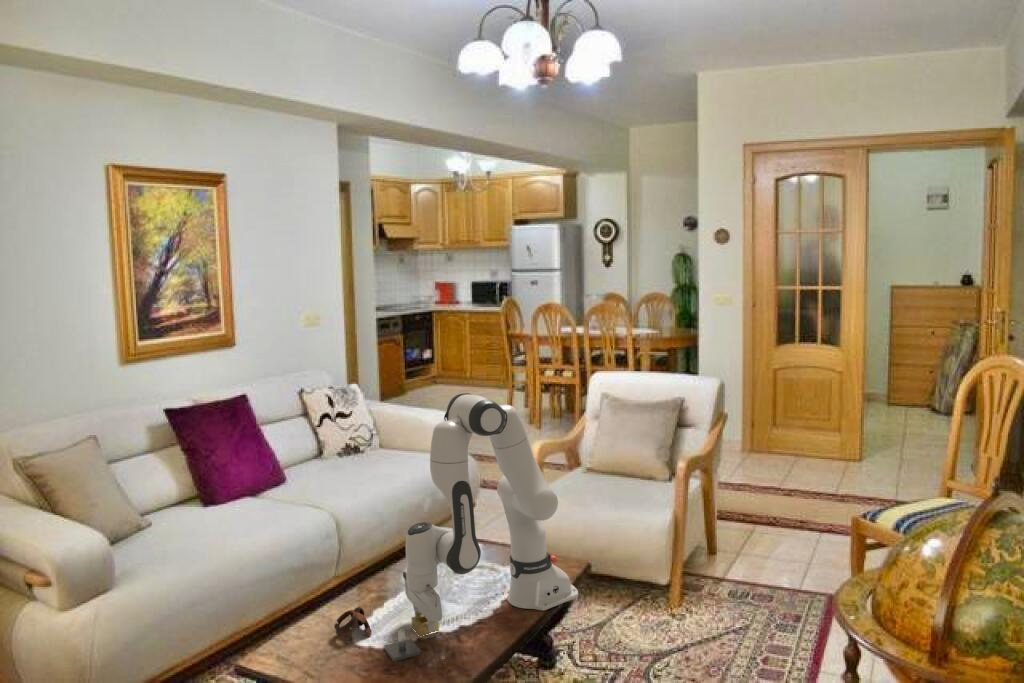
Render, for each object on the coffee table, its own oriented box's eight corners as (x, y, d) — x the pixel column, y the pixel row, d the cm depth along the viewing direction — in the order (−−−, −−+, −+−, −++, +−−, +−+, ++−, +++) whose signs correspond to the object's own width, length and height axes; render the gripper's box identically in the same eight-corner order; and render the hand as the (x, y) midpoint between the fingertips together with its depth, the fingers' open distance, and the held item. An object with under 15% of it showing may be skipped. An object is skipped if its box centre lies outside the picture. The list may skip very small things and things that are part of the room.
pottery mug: (370, 644, 234) (354, 623, 232) (343, 655, 237) (327, 636, 234) (378, 614, 245) (363, 595, 243) (352, 626, 248) (337, 607, 245)
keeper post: (410, 641, 234) (409, 621, 233) (421, 654, 227) (420, 633, 226) (383, 649, 230) (382, 628, 229) (393, 661, 223) (392, 641, 222)
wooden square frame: (431, 623, 244) (430, 612, 244) (438, 632, 239) (438, 620, 238) (412, 628, 241) (411, 617, 241) (419, 637, 236) (418, 626, 236)
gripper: (446, 590, 230) (448, 636, 232) (420, 564, 248) (422, 608, 250) (425, 595, 227) (427, 642, 229) (400, 569, 245) (402, 613, 247)
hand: (424, 624), depth 240 cm, fingers open, 8 cm apart
